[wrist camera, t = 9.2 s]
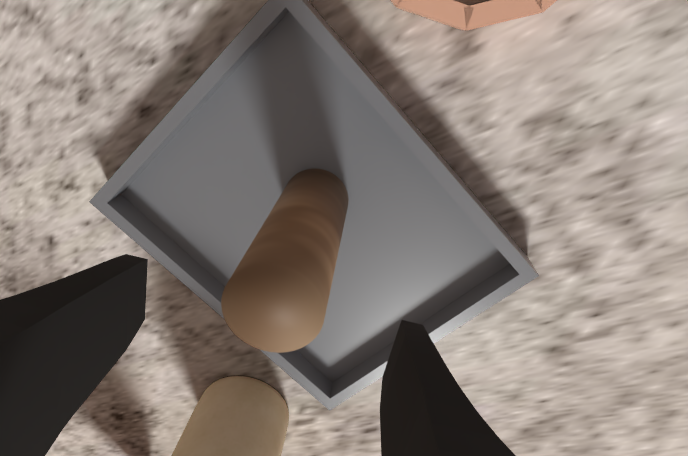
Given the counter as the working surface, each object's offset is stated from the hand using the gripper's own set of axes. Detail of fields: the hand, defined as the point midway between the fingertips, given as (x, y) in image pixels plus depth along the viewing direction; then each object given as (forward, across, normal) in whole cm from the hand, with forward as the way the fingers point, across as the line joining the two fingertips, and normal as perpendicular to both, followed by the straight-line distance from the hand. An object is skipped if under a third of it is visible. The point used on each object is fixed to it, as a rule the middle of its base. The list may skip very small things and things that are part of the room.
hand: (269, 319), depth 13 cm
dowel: (+9, 0, 0) cm, 9 cm away
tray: (+10, 0, +1) cm, 10 cm away
